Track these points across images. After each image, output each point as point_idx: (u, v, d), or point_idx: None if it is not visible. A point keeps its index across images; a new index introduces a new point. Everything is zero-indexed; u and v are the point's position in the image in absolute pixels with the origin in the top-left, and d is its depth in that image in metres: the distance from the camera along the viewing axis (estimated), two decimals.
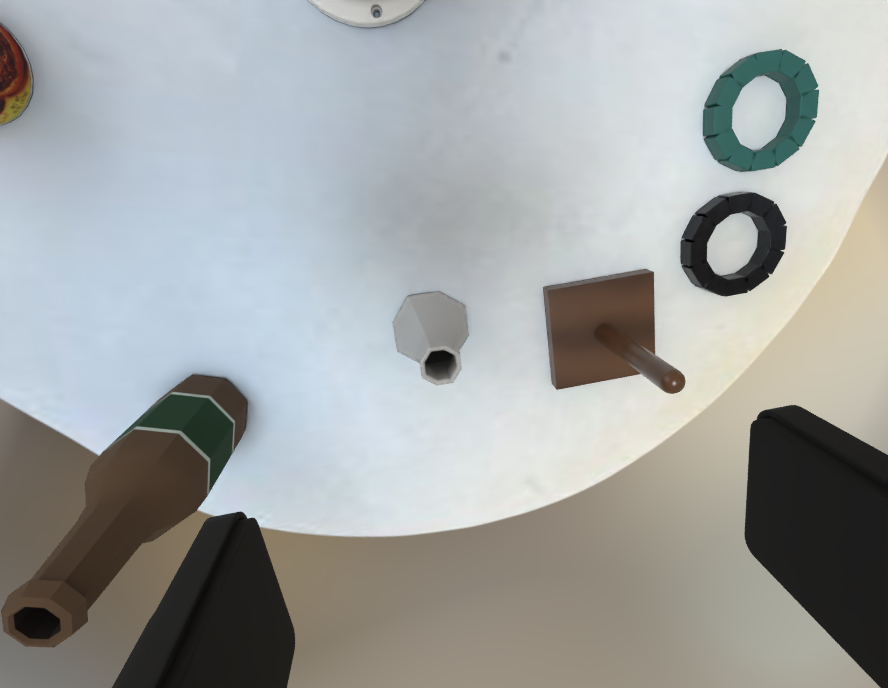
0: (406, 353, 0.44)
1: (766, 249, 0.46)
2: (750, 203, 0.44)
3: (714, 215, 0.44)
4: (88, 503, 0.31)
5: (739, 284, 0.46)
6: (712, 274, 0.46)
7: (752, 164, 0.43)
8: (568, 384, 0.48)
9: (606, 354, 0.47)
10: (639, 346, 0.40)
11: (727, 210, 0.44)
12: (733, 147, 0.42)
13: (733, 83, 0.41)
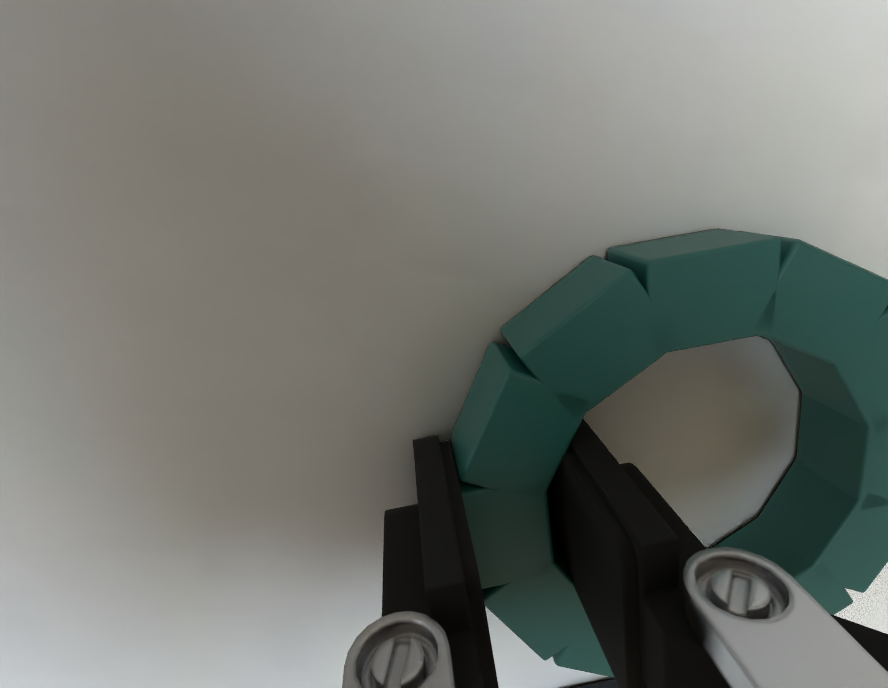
0: None
1: None
2: None
3: None
4: None
5: None
6: None
7: None
8: None
9: None
10: None
11: None
12: (570, 624, 0.10)
13: (537, 400, 0.08)
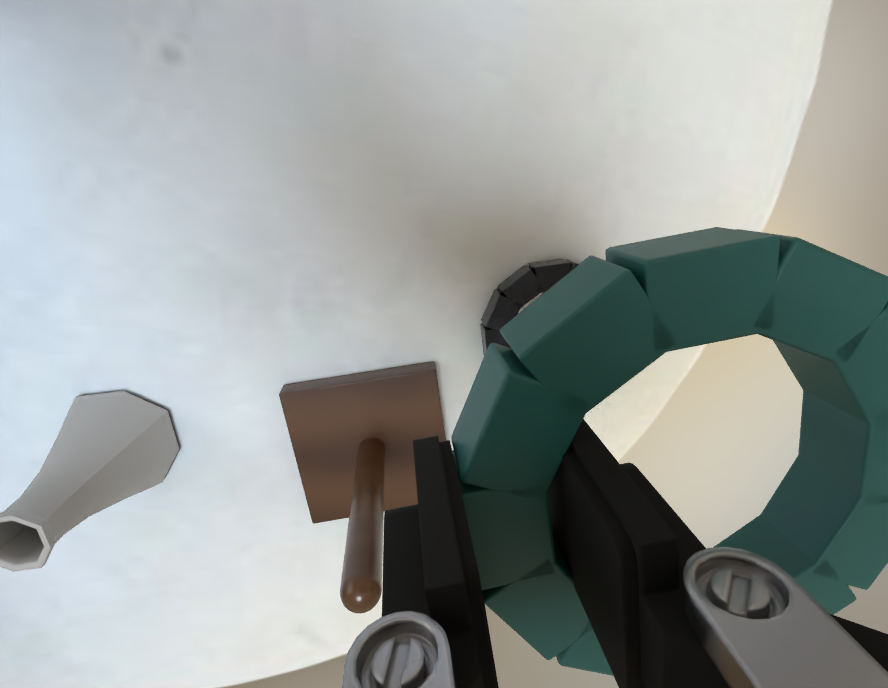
0: None
1: None
2: None
3: (516, 293, 0.30)
4: None
5: None
6: None
7: None
8: (329, 516, 0.34)
9: None
10: (365, 501, 0.26)
11: (535, 287, 0.30)
12: (573, 624, 0.10)
13: (537, 401, 0.08)
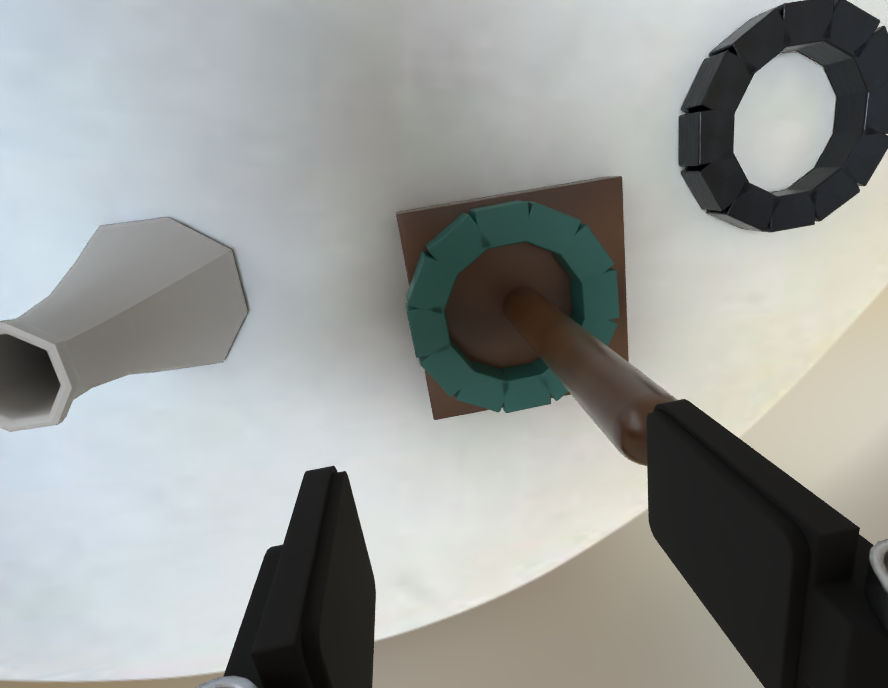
0: None
1: (856, 132, 0.22)
2: (829, 22, 0.20)
3: (751, 48, 0.20)
4: None
5: (799, 207, 0.23)
6: (744, 184, 0.22)
7: (505, 402, 0.23)
8: (457, 409, 0.24)
9: (530, 350, 0.24)
10: (575, 329, 0.16)
11: (780, 37, 0.20)
12: (460, 377, 0.22)
13: (436, 268, 0.20)
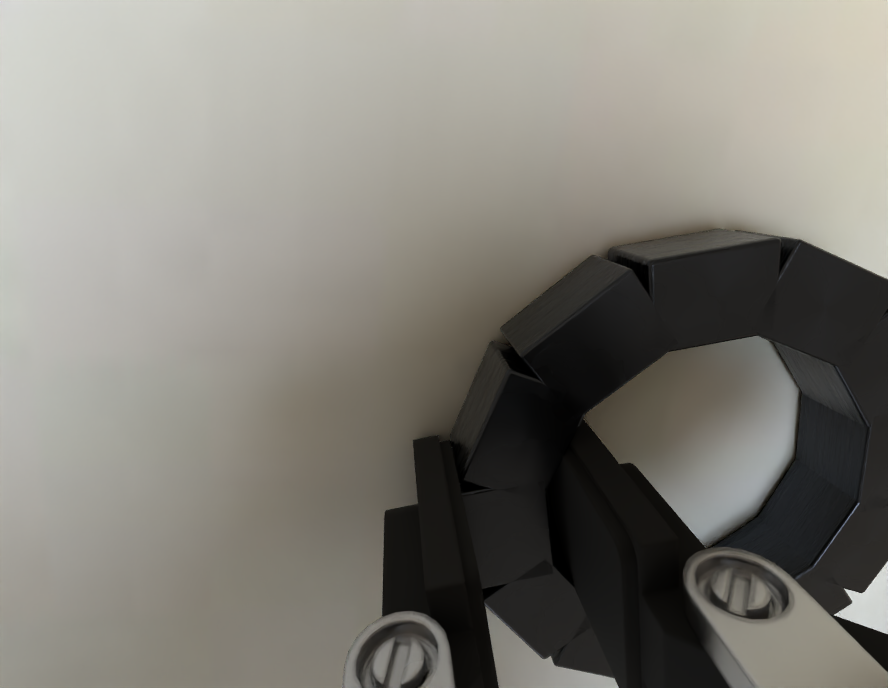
0: None
1: None
2: (510, 492, 0.09)
3: (554, 628, 0.10)
4: None
5: None
6: (812, 576, 0.10)
7: None
8: None
9: None
10: None
11: (536, 582, 0.09)
12: None
13: None
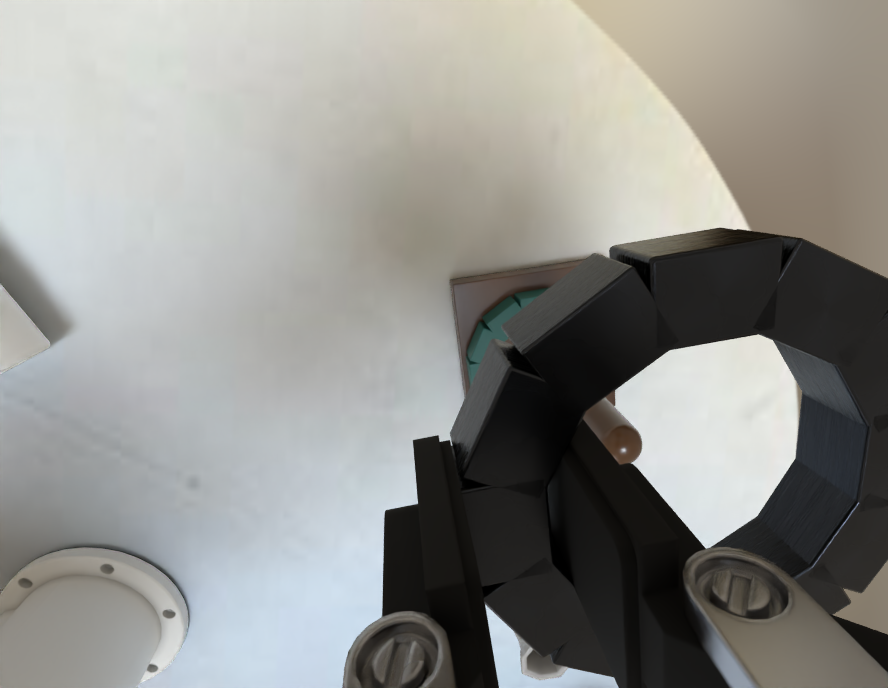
0: None
1: None
2: (510, 489, 0.09)
3: (553, 626, 0.10)
4: None
5: None
6: (811, 576, 0.10)
7: None
8: None
9: None
10: None
11: (536, 581, 0.09)
12: None
13: None
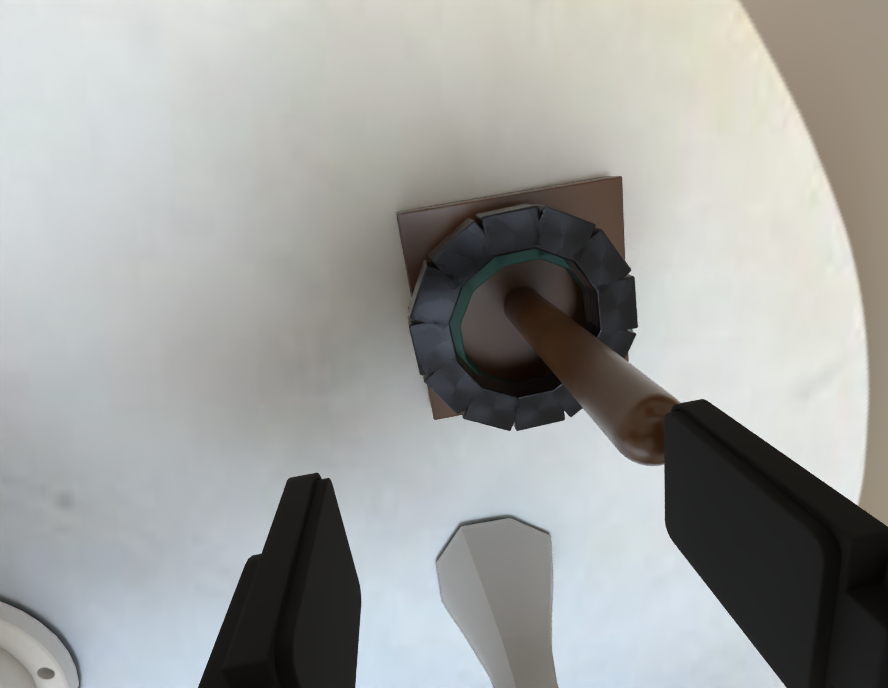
0: None
1: (535, 248, 0.19)
2: (432, 323, 0.19)
3: (460, 396, 0.20)
4: None
5: (613, 301, 0.20)
6: None
7: None
8: None
9: (569, 294, 0.23)
10: (547, 356, 0.16)
11: (449, 371, 0.20)
12: None
13: None
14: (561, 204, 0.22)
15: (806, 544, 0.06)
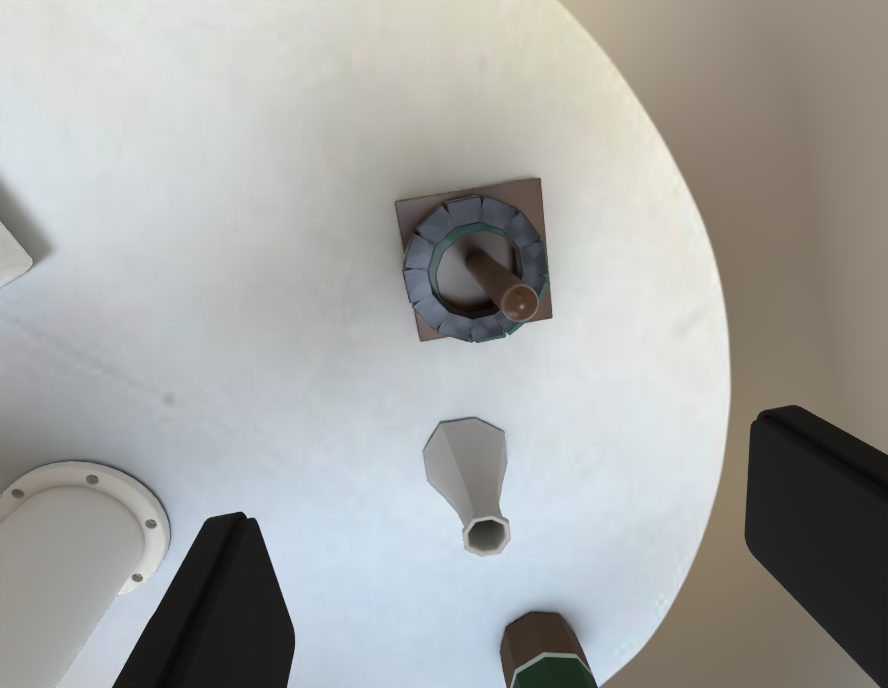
0: None
1: (480, 222, 0.31)
2: (417, 269, 0.31)
3: (435, 317, 0.32)
4: None
5: (530, 256, 0.32)
6: None
7: None
8: (546, 303, 0.36)
9: (509, 255, 0.35)
10: (482, 283, 0.28)
11: (428, 300, 0.32)
12: None
13: None
14: (501, 196, 0.33)
15: None
